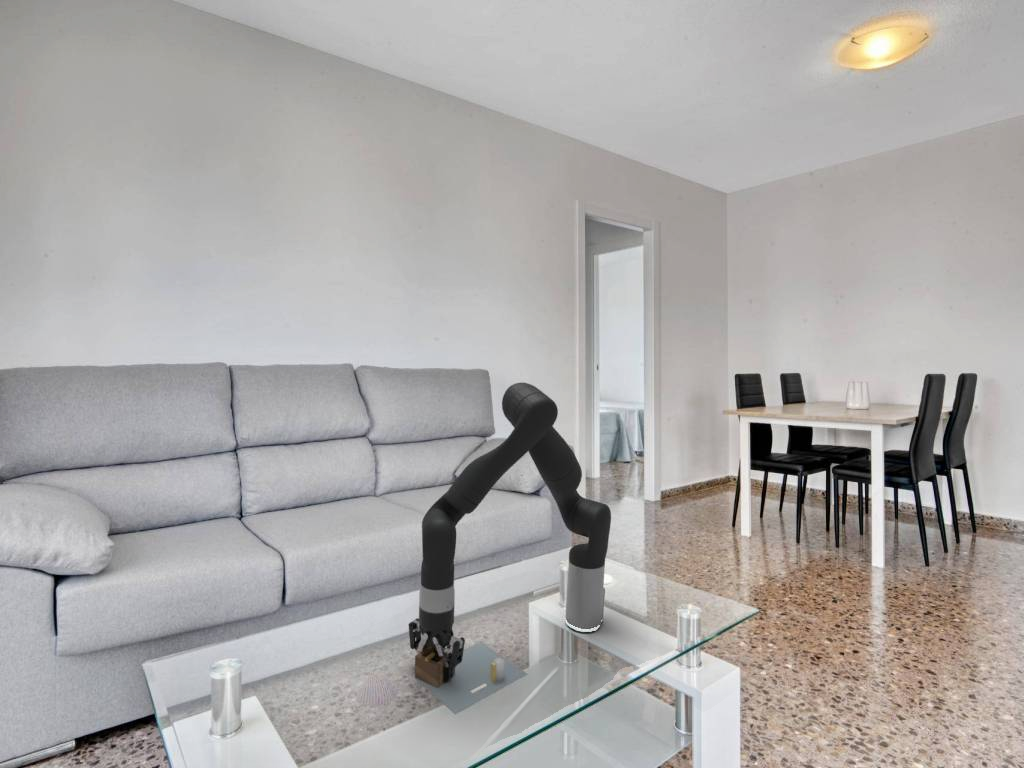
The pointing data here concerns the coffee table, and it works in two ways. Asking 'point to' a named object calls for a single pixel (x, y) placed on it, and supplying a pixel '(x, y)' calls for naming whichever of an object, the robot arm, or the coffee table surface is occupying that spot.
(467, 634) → the coffee table surface
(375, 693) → the seashell
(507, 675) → the shaft plate
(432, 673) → the open wooden crate
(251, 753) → the coffee table surface
